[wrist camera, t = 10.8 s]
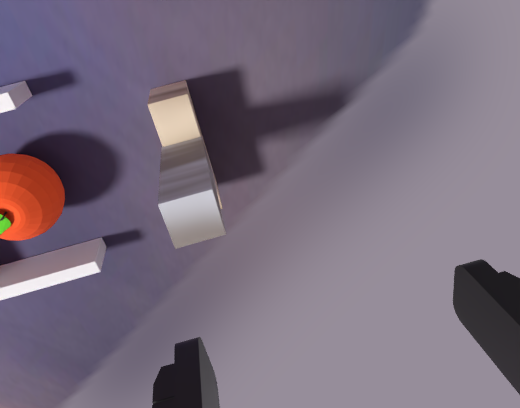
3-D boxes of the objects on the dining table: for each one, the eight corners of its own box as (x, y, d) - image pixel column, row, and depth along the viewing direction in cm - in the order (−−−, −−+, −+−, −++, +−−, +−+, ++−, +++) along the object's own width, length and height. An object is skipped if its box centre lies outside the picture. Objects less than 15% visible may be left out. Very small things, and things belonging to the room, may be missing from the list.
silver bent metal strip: (149, 89, 35) (136, 150, 22) (186, 79, 35) (195, 134, 22) (185, 192, 40) (191, 290, 27) (217, 183, 40) (239, 276, 27)
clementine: (36, 235, 39) (10, 282, 33) (-39, 191, 36) (-83, 234, 30) (89, 175, 37) (72, 214, 31) (15, 124, 34) (-20, 156, 28)
